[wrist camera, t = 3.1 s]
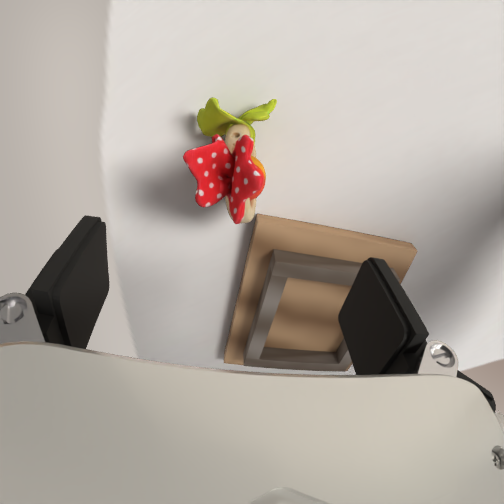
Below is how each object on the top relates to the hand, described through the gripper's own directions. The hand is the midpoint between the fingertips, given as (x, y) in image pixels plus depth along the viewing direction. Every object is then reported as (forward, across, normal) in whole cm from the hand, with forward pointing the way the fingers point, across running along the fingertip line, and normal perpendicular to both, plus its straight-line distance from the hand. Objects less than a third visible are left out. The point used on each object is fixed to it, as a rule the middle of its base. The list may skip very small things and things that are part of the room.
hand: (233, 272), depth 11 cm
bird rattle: (+18, -1, 0) cm, 18 cm away
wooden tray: (+17, -12, +16) cm, 26 cm away
